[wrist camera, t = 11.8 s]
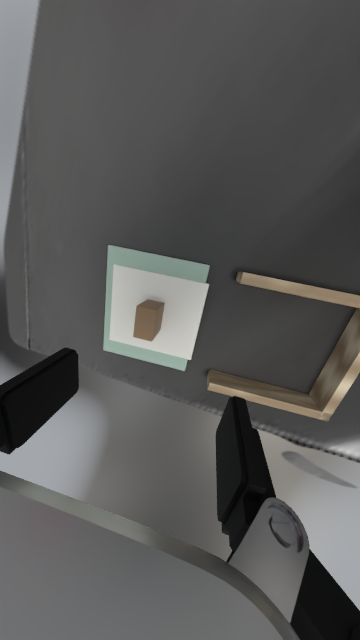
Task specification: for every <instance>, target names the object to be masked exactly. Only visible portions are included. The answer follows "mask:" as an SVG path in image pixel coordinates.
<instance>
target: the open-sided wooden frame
mask: <svg viewBox="0 0 360 640" xmlns="http://www.w3.org/2000/svg"><path fill="white" fill-rule="evenodd" d="M235 281H237V282H239V283H241V284H246V285H251V286H255V287H260V288H265V289H270V290H275V291H279V292H284V293H289V294H294V295H299V296H303V297H308V298H313V299H318V300H323V301H327V302H332V303H337V304H342V305H347V306H351V307H356V308H357V309H356V310H355V312H354V314H353V316H352V318H351V319H350V321H349V323H348V325H347V326H346V328H345V330H344V332H343V334H342V335H341V337H340V339H339V341H338V343H337V344H336V346H335V348H334V350H333V352H332V353H331V355H330V357H329V359H328V360H327V362H326V364H325V366H324V368H323V369H322V371H321V373H320V375H319V377H318V378H317V380H316V382H315V384H314V386H313V387H312V389H311V391H310V393H309V394H305V393H302V392H298V391H294V390H290V389H286V388H282V387H278V386H274V385H270V384H266V383H262V382H258V381H254V380H250V379H246V378H242V377H238V376H234V375H230V374H226V373H222V372H218V371H215V370H211V369H209V372H208V375H207V388H208V390H211V391H214V392H218V393H222V394H226V395H230V396H237V397H241V398H244V399H245V400H249V401H252V402H256V403H260V404H264V405H268V406H271V407H275V408H279V409H283V410H287V411H290V412H294V413H298V414H302V415H306V416H309V417H313V418H317V419H321V420H325V421H328V420H329V419H330V417H331V416H332V414H333V412H334V411H335V409H336V408H337V406H338V405H339V403H340V402H341V400H342V399H343V397H344V396H345V394H346V392H347V391H348V389H349V388H350V386H351V385H352V383H353V382H354V380H355V379H356V377H357V376H358V374H359V372H360V296H359V295H354V294H349V293H344V292H339V291H334V290H329V289H324V288H319V287H314V286H309V285H304V284H299V283H294V282H290V281H285V280H280V279H275V278H270V277H265V276H260V275H255V274H250V273H245V272H240V271H238V273H237V277H236V280H235Z"/></svg>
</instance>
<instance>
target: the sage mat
mask: <svg viewBox="0 0 360 640" xmlns="http://www.w3.org/2000/svg"><path fill="white" fill-rule="evenodd" d="M114 264H116V265H121V266H126V267H131V268H135V269H140V270H145V271H150V272H154V273H159V274H164V275H169V276H174V277H178V278H183V279H188V280H193V281H197V282H202V283H206V280H207V276H208V271H209V267H210V265H206V264H201V263H196V262H191V261H186V260H181V259H176V258H171V257H166V256H161V255H156V254H151V253H146V252H141V251H136V250H132V249H127V248H122V247H117V246H112V245H108V259H107V282H106V304H105V326H104V348H103V350H105V351H109V352H113V353H117V354H121V355H124V356H128V357H132V358H136V359H140V360H144V361H148V362H152V363H156V364H159V365H163V366H167V367H171V368H175V369H179V370H183V371H185V368H186V364H187V360H188V359H185V358H181V357H177V356H173V355H169V354H165V353H161V352H157V351H153V350H149V349H145V348H141V347H137V346H132V345H128V344H124V343H120V342H116V341H112V340H109V338H110V320H111V302H112V284H113V265H114Z"/></svg>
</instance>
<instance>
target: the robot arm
mask: <svg viewBox="0 0 360 640" xmlns="http://www.w3.org/2000/svg"><path fill="white" fill-rule="evenodd" d="M78 383H79V378H78V354H77V353H76V351H75V350H73V349H69V348H63V349H61V350H60V351H58V352H56V353H55V354H53V355H51V356H49V357H48V358H46V359H44V360H43V361H41V362H39V363H38V364H36V365H34V366H32V367H31V368H29V369H28V370H26V371H24V372H22V373H20V374H19V375H17V376H15V377H14V378H12V379H10V380H8V381H7V382H5V383H3V384H2V385H0V451H1V452H4V453H7V454H10V453H11V452H12V451H14V450H15V449H16V448H19V447H20V446H22V445H23V444H24V443H25V442H26V441H27V440H28V439H29V438H30V437H31V436H32V435H33V434H34V433H35V432H36V431H37V430H38V429H39V428H40V427H42V426H43V425H44V424H45V423H46V422H47V421H48V420H49V419H50V418H51V417H52V416H53V415H54V414H55V413H56V412H57V411H58V410H59V409H60V408H61V407H62V406H63V405H64V404H65V403H66V402H67V401H68V400H69V399H70V398H71V397H73V395H75V394H76V392H77V391H78V388H79V384H78ZM216 471H217V515H218V521H220V522H222V533H224V534H227V535H229V540H230V541H229V542H230V547H231V549H232V551H231V553H230V555H229V557H228V558H227V560H226V562H225V561H224V560H222V559H220V558H219V557H216V556H214V555H212V554H210V553H208V552H206V551H204V550H202V549H200V548H198V547H196V546H193V545H191V544H188V543H186V542H183V541H181V540H179V539H176V538H174V537H171V536H169V535H167V534H164V533H161V532H159V531H157V530H154V529H152V528H149V527H146V526H144V525H141V524H139V523H136V522H134V521H131V520H128V519H126V518H123V517H121V516H118V515H116V514H113V513H110V512H108V511H105V510H103V509H100V508H97V507H95V506H92V505H90V504H87V503H84V502H82V501H79V500H76V499H74V498H71V497H68V496H66V495H63V494H61V493H57V492H55V491H52V490H50V489H47V488H45V487H42V486H39V485H37V484H34V483H32V482H29V481H26V480H24V479H21V478H18V477H15V476H13V475H10V474H7V473H5V472H2V471H0V640H360V611H359V609H358V608H357V607H356V606H355V605H354V603H353V602H352V601H351V600H350V599H349V597H348V596H347V595H346V593H345V592H344V591H343V590H342V588H341V587H340V586H339V585H338V584H337V582H336V581H335V580H334V579H333V577H332V576H331V575H330V574H329V572H328V571H327V570H326V569H325V567H324V566H323V565H322V564H321V563H320V561H319V560H318V559H317V558H316V556H315V555H314V554H313V553H312V551H311V550H310V549H309V541H308V536H307V533H306V531H305V529H304V526H303V524H302V523H301V521H300V519H299V517H298V516H297V515H296V514H295V512H294V511H293V510H292V508H290V507H289V506H288V505H287V504H286V503H285V502H283V501H282V500H280V499H278V498H276V495H275V492H274V488H273V485H272V480H271V477H270V473H269V469H268V466H267V462H266V458H265V455H264V451H263V448H262V444H261V440H260V436H259V433H258V431H257V429H254V428H252V425H251V421H250V417H249V413H248V409H247V405H246V401H245V399H244V398H241V397H237V396H233V398H231V397H230V398H229V400H228V403H227V405H226V408H225V410H224V413H223V415H222V418H221V421H220V423H219V426H218V428H217V431H216Z"/></svg>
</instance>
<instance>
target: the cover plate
mask: <svg viewBox="0 0 360 640" xmlns="http://www.w3.org/2000/svg"><path fill="white" fill-rule="evenodd" d="M208 287H209V284H207V283H202V282H197V281H193V280H188V279H183V278H178V277H174V276H169V275H164V274H159V273H154V272H150V271H145V270H140V269H135V268H131V267H126V266H121V265H116V264H114V265H113V284H112V302H111V320H110V338H109V340H112V341H116V342H120V343H124V344H128V345H132V346H137V347H141V348H145V349H149V350H153V351H157V352H161V353H165V354H169V355H173V356H177V357H181V358H185V359H189V360H191V357H192V353H193V349H194V345H195V341H196V336H197V332H198V328H199V324H200V320H201V316H202V312H203V308H204V304H205V299H206V295H207V291H208Z"/></svg>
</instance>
